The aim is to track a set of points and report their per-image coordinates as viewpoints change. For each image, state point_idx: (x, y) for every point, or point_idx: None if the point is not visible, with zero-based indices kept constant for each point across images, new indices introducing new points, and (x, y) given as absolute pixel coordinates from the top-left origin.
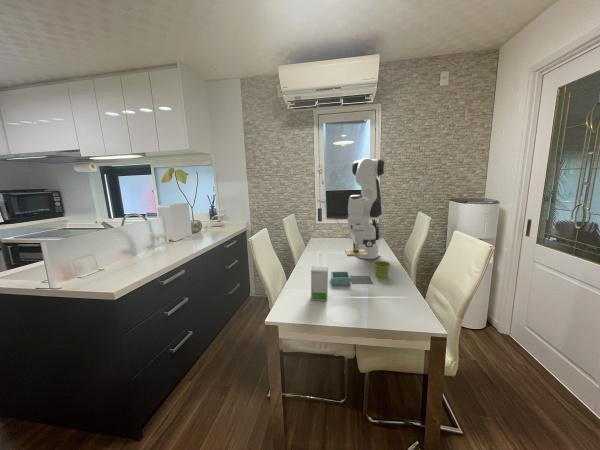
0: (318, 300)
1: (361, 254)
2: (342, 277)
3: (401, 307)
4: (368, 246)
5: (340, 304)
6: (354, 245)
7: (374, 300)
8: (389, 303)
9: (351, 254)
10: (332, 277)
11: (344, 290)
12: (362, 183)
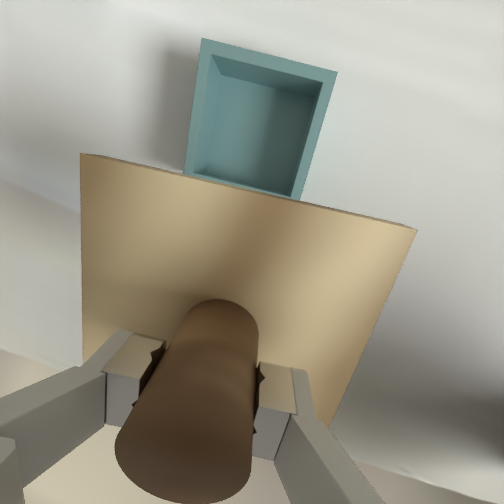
0: None
1: (83, 343)
2: (295, 166)
3: (8, 293)
4: None
5: (8, 49)
6: (146, 395)
7: (55, 228)
8: (34, 270)
9: (87, 221)
10: (215, 46)
11: (160, 129)
12: None
